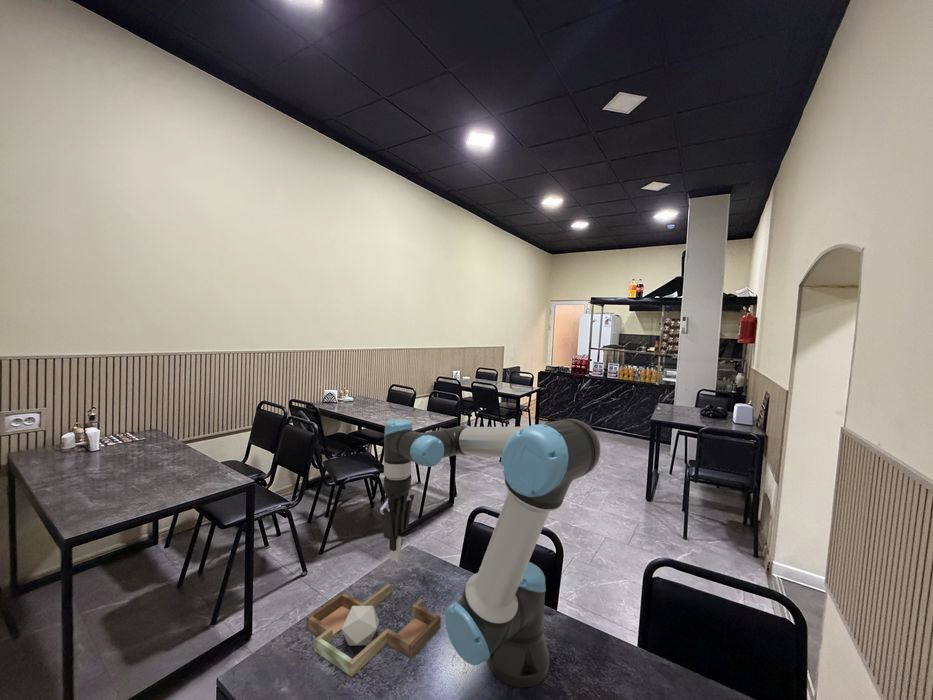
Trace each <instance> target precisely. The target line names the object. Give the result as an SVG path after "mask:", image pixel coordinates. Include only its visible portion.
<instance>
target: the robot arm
mask: <svg viewBox="0 0 933 700" xmlns="http://www.w3.org/2000/svg"><path fill="white" fill-rule="evenodd" d="M383 438H384V439H383V444H384V445H383V458H384V459H383V476H384V477H383V483H382V484H383V488H382V489H383V491H384V493H385V497H384V499H383V501H384V503H383V505H382V506H378V507H377V512H378V514H379V515H380V520H381V521H380V522H381V526H382V533H383V534H382V535H383V537H384V539H388V540H389V550H390V553H389V554H390V556H389V560H390V561H393V562H396V563H399V562H401V561H402V546H403V537H406V535H407V533H406V532H407V531H408V530H409V525H410V517H411V512H412V505H413V501H414V498H415V495H414V494H412V493H410V491H411V487H412V485H411V484H412V477H411V474H412V463H415V464H416V465H419V466H422V467H423V466H424V467H430V468H432V467H435V466H437V465H438V464H439V463H440V462H441V461H442V460H443V459H445V458H448V457H454V456H475V457H477V456H478V457H489V458H490V457H493V458H501V459H500V462H501V466H502V467H503V469H504V470H502V475H503V476H504V485H505V487H506V489H507V491H508V492H507V494H506V496H505V499H504V502H503V505H502V508H501V510H500V513H499V515H498V518H497V521H496V523H495V527H494V529H493V532H492V534H491V538H490V540H489V543H488V545H487V548H486V551H485V553H484V555H483V559H482V560H481V561H482V562H481V564H480V567H479V570H478V572H476V573H474V574H473V575H471V576H470V577H469V578H468V580H467V581H466V584H465V586H464V589H463V592H462V595H461V597H460V598H459V599H458V600H457V601H454V602H451V604H450V605H449V606H448V607H447V609H446V610H445V615H444V624H445V629H446V632H447V635H448V639H449V641H450V643H451V645H452V647H453V648H454V650H455V652H456V653H457V655H458V656H459V657H460V658H461V659H462V660H463V661H464V662H465V663H467V664H469V665H472V666H479V665H481V664H482V663H484V662H485V661H486V665H487V667H488V668H489V670H490V671H491V673H492V674H493V675H494V677H496V679H498V680H499V681H501V682H503V683H504V684H507V685H508V686H511V687H514V688H515V687H516V688H531V687H534V686H537V685H538V684H540V683H541V682H543V681H544V680H545V679H546V677H547V675H548V673H549V671H550V670H549V669H550V653H549V649H548V646H547V641H546V637H545V634H544V619H545V618H544V617H545V605H546V604H545V603H546V602H545V599H546V591H547V587H546V576H545V575H544V572H543V570H542V569H541V568H540V567H539V566H537V565H536V564H534V563H533V562H530V560H531V557H532V556H533V553H534V550H535V548H536V545H537V543H538V540H539V538H540V535H541V533H542V531H543V528H544V526H545V523H546V521H547V518H548V516H549V514H550V512H551V511H556V510H558V509H559V508H561V506H562V504H563V503H564V500H565V497H566V496H567V492H568V491H569V488H570V486H571V484H572V482H573V481H575V480H578V479H580V478H581V477H583V476H586V475H587V474H589V473H590V472H592V471H593V470H594V468H596V466H597V464H598V462H599V460H600V458H601V457H600V456H601V444H600V439H599V438H598V436H597V434H596V432H595V431H594V429H593V428H592V427H591V426H590V425H589V424H587V423H585V422H584V421H581V420H580V419H575V418H565V419H559V420H555V421H545V422H543V424H539V423H538V424H532V425H528V426H470V425H457V426H454V427H451V428H445V429H439V430H438V429H437V430H432V431H426V432H418V431H414V430H413V423H412V421H410V420H409V419H405V418H404V419H403V418H395V419H390V420H387V422H385V425H384V434H383Z"/></svg>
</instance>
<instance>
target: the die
mask: <svg viewBox="0 0 933 700" xmlns="http://www.w3.org/2000/svg"><path fill="white" fill-rule="evenodd" d="M379 624H380V620H379V617H378V615H377V612H376V609H375V607H373V606H352V608H351V610H350V612H349V614H348V616H347V619H346V621H345V623H344V625H343V627H342V629H341V631H342V634H343V637H345V640H346V643H347V645H348V646H349V647H352V646H356V647H358V646H368V645H369V644H370V643H371V642H372V641H373V640H374V639H373V638H374V636H375V634H376V631H377V629H378V627H379Z"/></svg>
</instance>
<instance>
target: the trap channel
mask: <svg viewBox="0 0 933 700" xmlns="http://www.w3.org/2000/svg"><path fill="white" fill-rule="evenodd" d="M390 595H392V584H391V583H387V584H386V585H384V586H383V587H382V588H380V589H379V590H378V591H376V592H375V593H374V594H372V595H371V596H370V597H369V598H367V599H366V600H364V601H363V602H361V601H359V600H358V599H356V598H354V597H352V596H350V595H348V594H347V593H345V592H344V591H343V592H341V593H339V594H338V595H337V596H335V597H334V598H332V599H331V600H329V601H328V602H326V603H327V604H326V603H325V604H323V605H322V606H323V607H322V606H321V608H320V607H319V608H320V609H319V608H318V610H317V609H316V610H317V611H316V610H314V611H313V612H314V613H313V612H312V613H313V614H312V613H310V614H311V615H310V614H309V615H310V616H309V615H308V616H309V617H308V618H307V617H306V618H305V619H306V620H305V621H306V622H305V623H306V625H305V626H306V627H305V629H307V630H308V631H310V632H312V633H313V634H314V635H316V637H315V638H314V653H315V652H316V653H317V654H319V656H321V657H322V658H324V659H325V660H327V661H328V662H329V663H331V664H332V665H334V666H336V668H338V669H340V670H341V671H342V672H344V673H345V674H347V675H348V676H349V677H351V678H353V676H355V675H356V674H357V673H358V672H359V671H360V670H361V669H362V668H363V667H364V666H365V665H366V664H368V662H370V660H372V658H373V657H375V656H376V655H377V654H378V653H379V652H380V651H381V650H382V649H383V648H384V647H385V646H386V645H389V646H390V647H391V648H393V649H395V650H396V651H398V652H399V653H402V654H403V655H405V656H407V657H409V658H410V659H413V658H414V657H415V656H416V655H417V654H418V652H420V650H421V649H422V648H423V647H424V646H425V645H426V644H427V643H428V641H430V640H431V639H432V637H434V635H435V634H436V633H437V632H438V631H439V630H440V629H441V623H442V622H441V621H442V620H441V619H442V618H441V616H440V615H438V614H436V613H434V612H431V610H428V609H426V608H424V607H423V603H424V600H423V599H421V598H419V599H418V600H417V601H416V602H415V603H414V604H412V606H411V617H412V618H413V619H412V620H411V621H409V623H407V624H406V625H405V626H404V627H403V628H402V629H401V630H400V631H399V632H398V633H396V632H395V631H393V630H391V629H390V628H387V627H386V629H385V630H383V631H382V632H381V633H380V634H379V635H378V636H377V637H375V638H374V639H372V641H371V643H370V644H369V645H366V646H365V647H364V648H363V649H362V650H361V651H360V652H358V654H356V655H355V656H354V657H353V658H351V657H350V656H349V655H347V654H345V653H344V652H343V651H341V650H340V649H338V648H336V647H335V646H333V645H332V644H330V643H331V642H333V636H335V635H336V634H337V633H339V631H342V627H343V625H344V623H345V621H346V619H347V616H348V614H349V612H350V610H351V608H352V606H373V607H374V608H375V607H377V606H378V605H379V604H380V603H382V602H383V601H384V600H386V599H387V598H388V597H389V596H390Z"/></svg>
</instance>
